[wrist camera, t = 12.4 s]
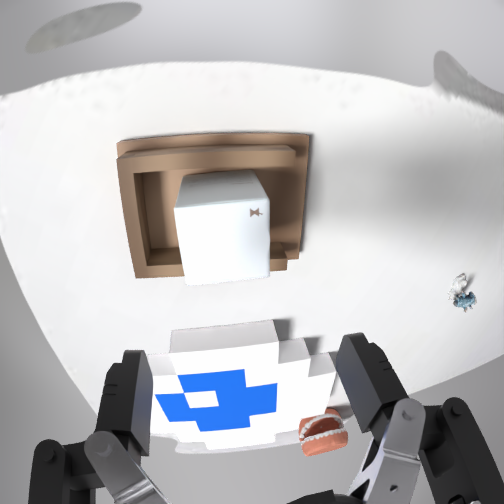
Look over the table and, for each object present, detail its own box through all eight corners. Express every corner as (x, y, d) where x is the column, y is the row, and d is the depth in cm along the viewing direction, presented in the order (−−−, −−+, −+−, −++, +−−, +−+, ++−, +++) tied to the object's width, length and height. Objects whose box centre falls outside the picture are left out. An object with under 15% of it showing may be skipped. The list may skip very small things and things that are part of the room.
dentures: (343, 400, 48) (356, 436, 42) (338, 417, 52) (350, 450, 45) (296, 412, 48) (307, 450, 41) (295, 428, 52) (305, 462, 45)
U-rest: (304, 134, 25) (321, 142, 21) (295, 253, 31) (307, 276, 27) (120, 140, 23) (105, 150, 19) (137, 261, 29) (129, 286, 25)
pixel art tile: (164, 450, 44) (103, 355, 30) (165, 433, 48) (110, 332, 33) (317, 433, 47) (346, 329, 33) (312, 416, 50) (335, 308, 36)
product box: (181, 174, 24) (172, 205, 18) (254, 167, 25) (271, 196, 18) (189, 239, 27) (185, 287, 21) (256, 233, 28) (271, 279, 22)
